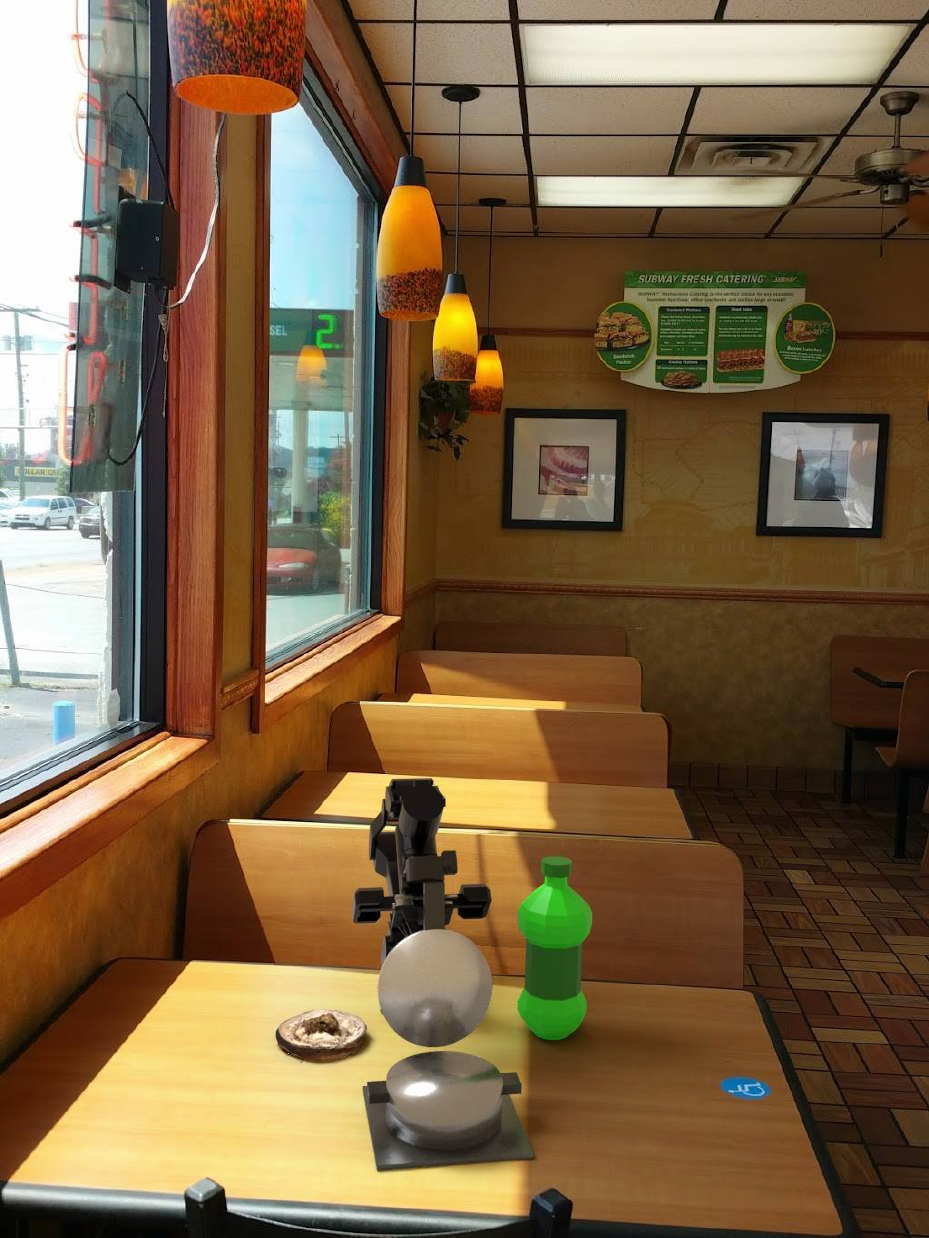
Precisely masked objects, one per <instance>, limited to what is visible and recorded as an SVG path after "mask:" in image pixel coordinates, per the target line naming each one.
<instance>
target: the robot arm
mask: <svg viewBox="0 0 929 1238" xmlns="http://www.w3.org/2000/svg"><path fill="white" fill-rule="evenodd" d="M434 782H435V781H434V779H433V778H431V777H425V778H424V777H422V778H421V777H420V778H417V777H416V778H414V777H413V778H391V780H390V781H389V785H388V786H386V787H385V791H384V792H385V794H384V795H385V796H384V798H382V800H381V810H380V812H379V813H378V814H377V816H376V817H375V818H374V820H373V821H371V823H370V825H369V837H368V859H369V861H372V865H373V869H374V872H375V874H378V875H380V876H381V877H383V878H385V879H386V885H387V891H388V896H385V890H384V887H383V886H379V887H358V888H356V890H355V891H354V893H353V901H352V905H351V906H352V908H351V909H352V910H351V911H352V923H354V924H356V925H357V924H358V925H360V924H376V923H377V922H378V921H379V919H380V918H381V916H382V915H381V914H382V913H381V912H390V913H389V920H388V921H387V935H384V936H383V941H382V943H381V944H382V945H381V949H380V961H381V962H380V963H381V964H380V967H382V965H383V963H384V961H385V959H386V957H387V956H388V954H389V953H390V952H391V950H392V949H393V948H394V947H395V946H396V945H397V944H398V943H399V942H400V941H401V940H403V939H404V938H406V937H407V936H409V935H411V934H413V933H415V932H418V931H421V930H423V883H424V882H444V883H445V877H446V876H455V875H456V874H458V870H459V869H458V858H457V850H453V849H451V850H443V851H442V852H441V853H440V855H438V851H437V850H438V848H437V840H436V836H437V834H438V831H439V828H440V825H441V821H442V816H443V812H444V808H446V805H447V804H446V803H447V801H446V797H445V796H444V795H443V793H442V792H441V790H440V788H439V786H438V785H435V784H434ZM387 823H397V825H396V826H395V827H394V828H395V829H394V831H383V830H384V829H385V827H387ZM492 901H493V900H492V893H491V889H490V887H489V886H488V885H487V884H486V883H468V884H461V885H460V888H459V891H458V893H445V926H448V925H450V923H451V920H452V916H453V913H454V910H455V909H456V911H457V912H456V913H457V915H458V916H459V917H460V918H461V919H463V920H479V919H480V920H482V919H484V918H486V917H487V915H488V912H489V909H490V906H491V903H492ZM380 1013H382V1010H381V1008H380Z"/></svg>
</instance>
